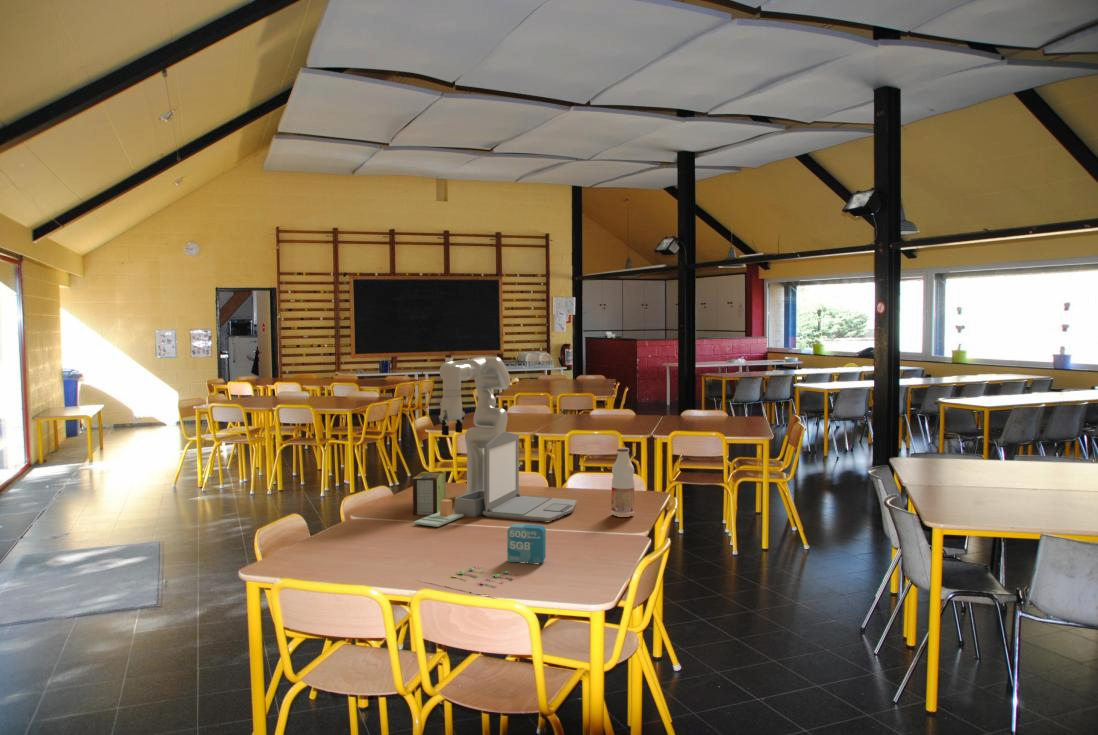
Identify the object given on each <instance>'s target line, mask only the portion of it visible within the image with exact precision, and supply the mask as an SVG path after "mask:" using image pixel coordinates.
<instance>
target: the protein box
mask: <svg viewBox="0 0 1098 735" xmlns="http://www.w3.org/2000/svg"><path fill="white" fill-rule="evenodd" d="M446 488H447V486H446V471H421V472H420V473H418V474H417V475H415V476H414V477H413V478H412V515H413V516H430V515H433V514H435V513H438V512H440V501H441V500H444V499H446V497H447V496H446Z"/></svg>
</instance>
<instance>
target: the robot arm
mask: <svg viewBox="0 0 1098 735" xmlns="http://www.w3.org/2000/svg"><path fill="white" fill-rule="evenodd" d="M439 375H440V378H441V379H442V397H441V398H442V399H441V404H440V415H438V420H439V423H440V426H441V436H447V437H448V436H449V435H450V428H449V427H450V426H449V423H450V422H454V421H455V427H454V428H455V430H454V431H455V433H458V434H462V433H463V423H464V419H465V415H466V413H465V411H463V402H462V381H463V382H465V381H469V380H471V379H474V385H475V389H476V392H477V403H476V408H475V409H474V410H475V411H474V414H473V420H472V421H473V424H474V426H472V427H469V428H468V429H467V430H465V433H464V441H465V444H466V445H465V446H466V461H467V462H466V482H467V483H466V490H467V491H465V492H464V493H463V495H466V494H469V493H472V492H475V491H478V490H481V491H484V449H485V446H486V445H487V444H488V443H489V442H491V441H492V440H493V439H494V438H495V437H496V436H498V435H499V434H500V433H501V432H506V430H507V425H508V419H509V418H508V412H507V410H506V409H504V408H502V407H496V404H497V400H496V397H495V395H494V394H493V393H492V392H491V390H506V389H508V388H509V387H510V384H511V376H510V373H509V371H508V369H507V367H506V365H505V363H504V361H503V360H502V359H501V358H500V357H499V356H478V357H474V358H473V357H472V358H468V359H461V360H453V361H448V362H444V363H442V364H441V366H440V368H439Z"/></svg>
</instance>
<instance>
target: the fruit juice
mask: <svg viewBox="0 0 1098 735" xmlns="http://www.w3.org/2000/svg"><path fill="white" fill-rule="evenodd" d="M616 450H617V456H616V459H615V461H614V464H613V465H612V467H611V471H612V479H611V500H610V501H611V507H610V508H611V511H610V512H612V513H613V514H618V515H619V514H620V515H623V514H631V513H634V514H635V480H634V474H635V468H634V465H633V464H632V460H631V459H630V454H629V453H630V448H629V447H623V446H622V447H621V446H620V447H617V449H616ZM612 513H611V514H612Z"/></svg>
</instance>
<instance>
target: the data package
mask: <svg viewBox="0 0 1098 735" xmlns="http://www.w3.org/2000/svg"><path fill="white" fill-rule="evenodd" d="M546 531H547V530H546V527H545V526H544V525H542V524H525V523H523V524H522V523H513V524H511V525H510V526H509V527H508V529H507V532H506V533H507V535H506V538H507V540H506V541H507V542H506V543H507V544H506V545H507V546H506V549H507V550H506V552H507V553H506V555H507V561H508V562H509V563H510V562H525V563H527V562H528V563H541V564H543V562H544V561H545V559H546V549H547V548H546V543H547V542H546V541H547V540H546V539H547V538H546V537H547V536H546V534H547V533H546Z"/></svg>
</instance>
